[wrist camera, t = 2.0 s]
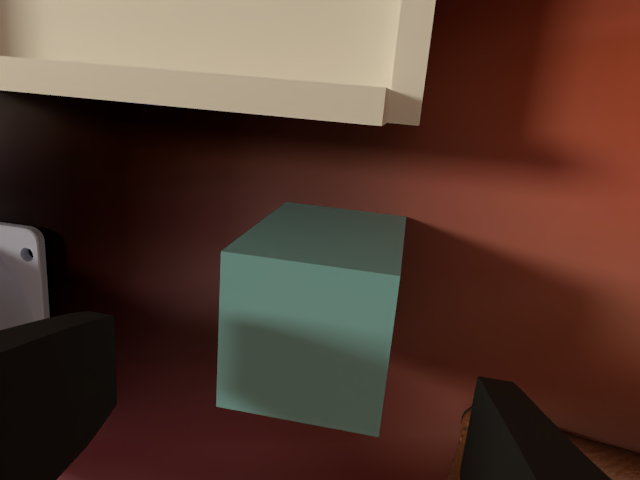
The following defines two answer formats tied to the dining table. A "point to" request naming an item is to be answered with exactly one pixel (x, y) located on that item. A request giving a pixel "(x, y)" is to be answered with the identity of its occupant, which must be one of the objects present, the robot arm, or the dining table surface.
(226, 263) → the block
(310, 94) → the walled box
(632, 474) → the sunglasses case
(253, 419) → the dining table surface
